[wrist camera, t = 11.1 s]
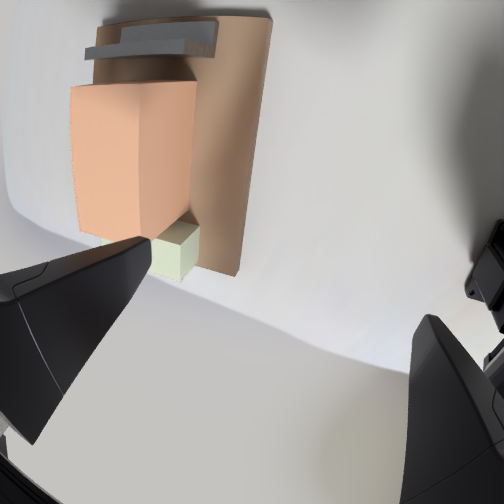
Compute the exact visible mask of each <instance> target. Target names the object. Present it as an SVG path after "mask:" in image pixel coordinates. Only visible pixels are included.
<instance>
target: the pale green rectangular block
mask: <svg viewBox="0 0 504 504" xmlns="http://www.w3.org/2000/svg"><path fill="white" fill-rule="evenodd" d="M199 233H200V226H198V225H194V224H190V223H186V222H182V221H178V220H176V221H175V222H174V223H172V224H171V225H170V226H169V227H168V228H167V229H165V230H164V231H163V232H162V233H161V234H160V235H158V236H157V237H156V238H155V239H154V240H153V241H152V242H151V248H152V263H151V266H150V268H149V270H148V271H147V272H150V273H153V274H156V275H159V276H162V277H165V278H168V279H171V280H174V281H177V282H181V281H182V280H183V279H184V278H185V276H186V275H187V274H188V273H189V271H190V270H191V269H192V268H193V267H194V265H195V264H196V263H197V262H198V255H199ZM100 239H101V246H103V245H106V244H110V243H114V241H110V240H107V239H104V238H101V237H100Z"/></svg>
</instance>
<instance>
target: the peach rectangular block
mask: <svg viewBox="0 0 504 504" xmlns="http://www.w3.org/2000/svg"><path fill="white" fill-rule="evenodd" d="M196 90H197V81H181V80H127V81H115V82H106V83H97V84H89V85H82V86H75V87H71V92H70V126H71V152H72V167H73V179H74V190H75V199H76V207H77V215H78V222H79V229H80V231H82V232H85V233H88V234H91V235H95V236H98V237H101V238H104V239H107V240H110V241H114V242H117V241H121V240H125V239H128V238H132V237H136V236H143V237H146V238H149V239H150V240H151V242H152V241H153V240H154V239H155V238H156V237H157V236H158V235H160V234H161V233H162V232H163V231H164V230H165V229H167V228H168V227H169V226H170V225H171V224H172V223H174V222H175V221H176V220H177V219H178V218H180V217H181V216H182V215H183V214H184V213H186V212H187V211H188V210H189V187H190V168H191V152H192V137H193V124H194V112H195V100H196Z"/></svg>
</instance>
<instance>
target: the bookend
mask: <svg viewBox="0 0 504 504" xmlns="http://www.w3.org/2000/svg"><path fill="white" fill-rule="evenodd" d="M218 29H219V23H218V22H216V21H198V22H173V23H159V24H148V25H139V26H131V27H123V28H122V31H121V40H120V43H119V44H110V45H103V46H96V47H90V48H85V60H104V59H136V58H165V57H185V58H215V52H216V44H217V36H218Z"/></svg>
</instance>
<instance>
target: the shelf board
mask: <svg viewBox="0 0 504 504" xmlns="http://www.w3.org/2000/svg"><path fill="white" fill-rule="evenodd" d="M198 21H216V22H218V23H219V29H218V36H217V44H216V52H215V58H185V57H165V58H136V59H104V60H94V73H93V84H97V83H106V82H115V81H127V80H181V81H197V90H196V100H195V112H194V124H193V137H192V152H191V168H190V187H189V210H188V211H187V212H186V213H184V214H183V215H182V216H181V217H180V218H178V219H177V220H178V221H182V222H186V223H190V224H194V225H198V226H200V233H199V255H198V262H197V263H196V264H195V265H196V266H199V267H202V268H206V269H209V270H213V271H216V272H219V273H223V274H226V275H230V276H233V277H235V276H236V274H237V272H238V271H239V265H240V257H241V250H242V242H243V234H244V226H245V219H246V211H247V204H248V196H249V188H250V181H251V174H252V166H253V159H254V151H255V144H256V137H257V130H258V122H259V115H260V108H261V101H262V94H263V87H264V80H265V73H266V66H267V59H268V52H269V45H270V38H271V32H272V25H273V21H272V20H271V19H270V18H261V17H244V16H187V17H170V18H158V19H148V20H139V21H132V22H125V23H118V24H112V25H106V26H101V27H98V29H97V37H96V46H103V45H110V44H119V43H120V40H121V31H122V28H123V27H131V26H139V25H148V24H159V23H173V22H198Z"/></svg>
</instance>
